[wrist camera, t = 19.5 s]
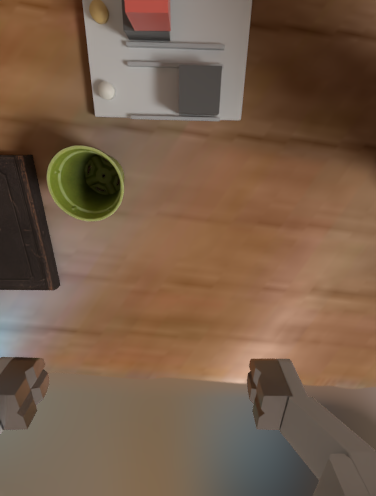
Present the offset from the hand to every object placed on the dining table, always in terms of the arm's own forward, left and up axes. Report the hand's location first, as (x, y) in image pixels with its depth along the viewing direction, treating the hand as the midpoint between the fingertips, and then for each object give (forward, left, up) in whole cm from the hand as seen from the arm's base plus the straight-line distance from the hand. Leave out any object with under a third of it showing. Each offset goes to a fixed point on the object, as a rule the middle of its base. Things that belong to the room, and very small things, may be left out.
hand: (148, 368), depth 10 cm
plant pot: (+11, -2, -34) cm, 36 cm away
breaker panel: (+1, -17, -34) cm, 38 cm away
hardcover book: (+29, +7, -35) cm, 46 cm away
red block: (+2, -20, -29) cm, 36 cm away
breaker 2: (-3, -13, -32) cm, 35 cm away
